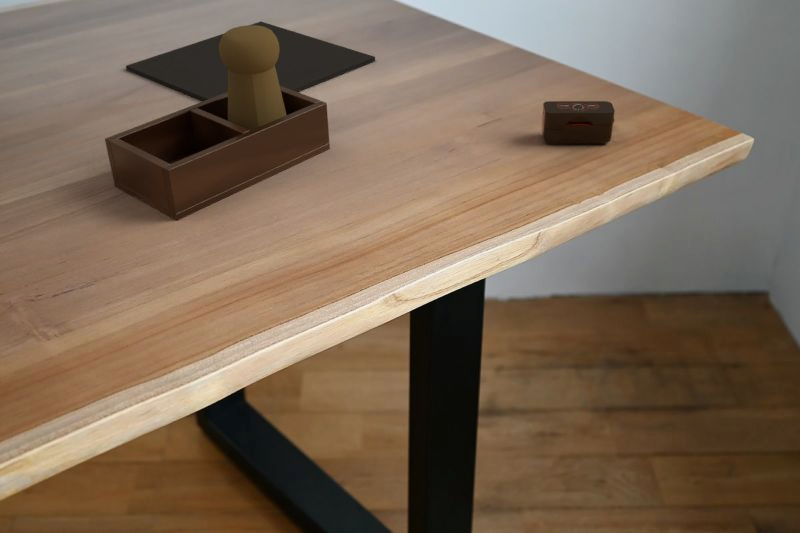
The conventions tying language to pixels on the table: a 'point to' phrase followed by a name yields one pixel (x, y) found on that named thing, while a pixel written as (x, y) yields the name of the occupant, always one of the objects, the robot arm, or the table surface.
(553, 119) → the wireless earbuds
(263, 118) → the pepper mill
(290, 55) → the mat
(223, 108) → the organizer
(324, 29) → the table surface
